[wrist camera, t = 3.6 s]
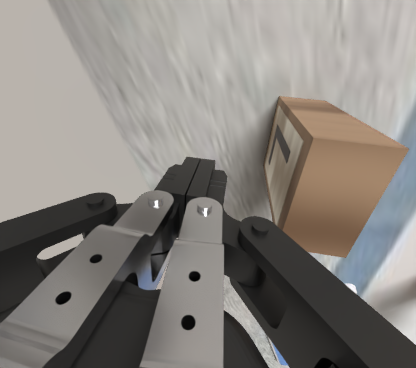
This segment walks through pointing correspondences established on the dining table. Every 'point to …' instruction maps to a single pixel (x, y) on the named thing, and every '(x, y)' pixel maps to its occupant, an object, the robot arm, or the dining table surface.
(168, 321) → the robot arm
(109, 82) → the dining table surface
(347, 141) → the marked cardboard box
